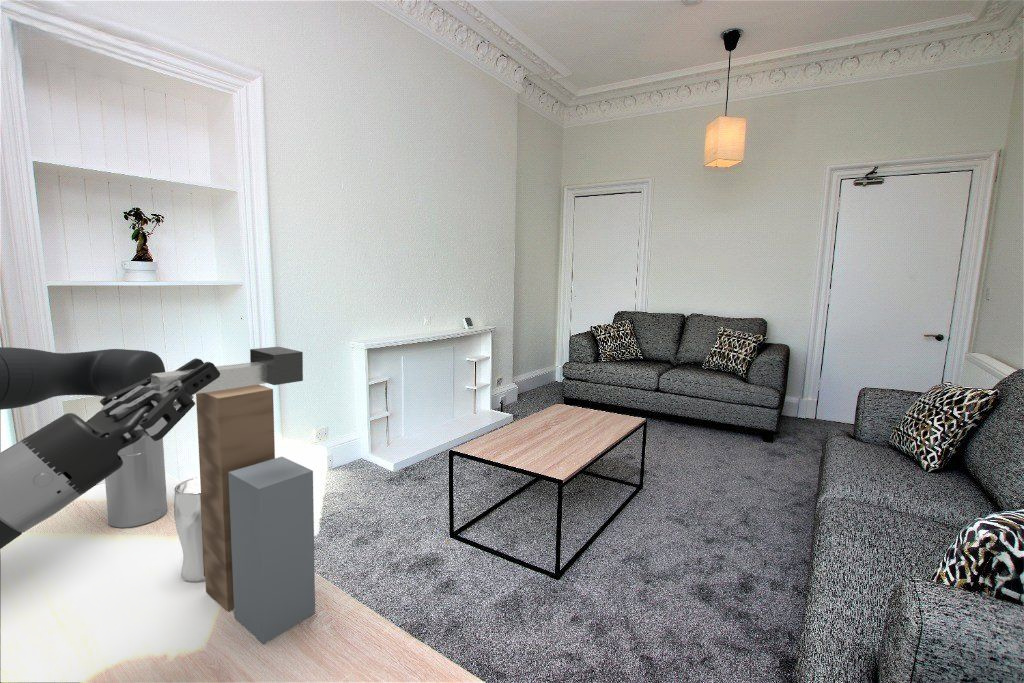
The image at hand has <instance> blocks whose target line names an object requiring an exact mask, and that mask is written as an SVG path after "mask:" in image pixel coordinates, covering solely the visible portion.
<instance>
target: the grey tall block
mask: <svg viewBox="0 0 1024 683" xmlns="http://www.w3.org/2000/svg"><path fill="white" fill-rule="evenodd" d="M228 474H229V498H230V522H231V546H232V570H233V594H234V609H233V613H234V614H233V615H234V619H235V620H236V621H237V622H238V623H239V624H240V625H242V626H243V627H244V628H245V629H246V630H247V631H248V632H249V633H250V634H251V635H253V637H255V638H256V639H257V640H258V641H259V642H260V643H261V644H263V645H265V644H267V643H269V642H270V641H272V640H273V639H275V638H277V637H278V636H280V635H282V634H283V633H285V632H286V631H288V630H290V629H291V628H293V627H295V626H296V625H298V624H300V623H302V622H303V621H305V620H306V619H309V618H310V617H311V616H313V615H315V614H316V591H315V590H316V589H315V588H316V586H315V585H316V583H315V582H316V581H315V580H316V577H315V572H316V570H315V525H314V524H315V521H314V520H315V519H314V518H315V517H314V514H315V512H314V470H312V469H310V468H308V467H305V466H304V465H302V464H299V463H297V462H294V461H292V460H291V459H288V458H286V457H284V456H278V457H275V459H271V460H268V461H265V462H261V463H258V464H255V465H251V466H248V467H244V468H241V469H238V470H234V471H231V472H228Z"/></svg>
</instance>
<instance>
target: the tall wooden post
mask: <svg viewBox="0 0 1024 683" xmlns="http://www.w3.org/2000/svg"><path fill="white" fill-rule="evenodd" d="M195 399H196V402H195V405H196V418H197V419H196V423H197V440H198V460H199V461H198V464H199V477H200V484H201V504H202V524H203V543H204V563H205V580H204V582H205V593H206V594H208V595H209V596H210V598H211V599H213V600H214V601H215V602H216V603H218V605H220V606H221V607H222V608H223V609H224V610H225V611H226V612H229V613H230V611H232V610H234V594H233V570H232V546H231V522H230V498H229V474H228V472H231V471H234V470H238V469H241V468H244V467H248V466H251V465H255V464H258V463H261V462H265V461H268V460H271V459H275V458H276V452H275V451H276V449H275V415H274V414H275V413H274V412H275V411H274V388H271V387H268V386H265V385H263V384H258V385H251V386H245V387H238V388H232V389H225V390H218V391H212V392H205V393H199V394H195Z"/></svg>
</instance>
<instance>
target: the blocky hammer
mask: <svg viewBox="0 0 1024 683" xmlns="http://www.w3.org/2000/svg"><path fill="white" fill-rule="evenodd" d="M249 350H250V352H249V357H250V358H249V359H250V362H246V363H242V362H241V363H235V364H227V365H225V364H224V365H218V366H216V365H215V367H216V368H217V369H218V371H219V372H220V376H219V378H217V379H216V380H214V381H213V382H211V383H210V384H208V385H207V386H205V387H204V388H202V389H201V390H199V391H198V392H196V393H195V394H194V395H196V394H199V393H205V392H212V391H218V390H225V389H232V388H238V387H245V386H251V385H258V384H259V385H263V384H269V385H272V386H279V385H285V384H291V383H298V382H303V381H304V369H303V367H304V362H303V361H304V360H303V359H304V357H303V355H304V353H303V351H300V350H296V349H291V348H287V347H283V346H282V347H281V346H271V347H270V346H269V347H260V348H259V347H257V348H251V349H249ZM192 370H194V369H190V370H182V371H175V370H173V371H165V372H163V373H154V374H151V387H152V390H156V391H160V390H162V389H163V388H165V387H167V386H168V385H170V384H172V383H173V382H175V381H178V380H179V379H180V378H182V377H183V376H185V375H187V374H188V373H189V372H191V371H192ZM165 397H166V396H165Z"/></svg>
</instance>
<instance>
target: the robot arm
mask: <svg viewBox="0 0 1024 683" xmlns="http://www.w3.org/2000/svg"><path fill="white" fill-rule="evenodd" d="M165 368H166V367H165V363H164V362H163V360H162V358H161V357H160V356H159V354H158V353H155V352H153V351H148V350H139V349H123V348H108V349H99V350H98V349H97V350H91V351H80V352H78V351H77V352H67V353H66V352H65V353H64V352H62V353H61V352H51V351H47V350H46V351H45V350H41V349H34V348H23V347H11V346H10V347H7V346H6V347H5V346H0V411H1V410H8V409H9V410H11V409H17V408H23V407H28V406H32V405H35V404H38V403H40V402H43V401H46V400H48V399H51V398H54V397H55V398H56V397H61V396H94V397H95V396H96V397H103V398H101V399H100V401H99V403H100V404H101V405H102V407H101V410H99V411H98V412H96V413H95V414H94V415H93V416H92V417H90V418H89V419H88V420H86V421H85V420H83V419H82V418H81V417H80V416H79V415H77V414H76V413H72V412H69V413H64V414H63V415H61V416H60V417H58V418H56V419H54V420H53V421H51V422H50V423H48V424H46V425H44V426H43V427H41V428H39V429H38V430H35V431H34V432H33V433H31V434H29V435H28V436H26V437H24V438H23V439H21V440H19V441H18V442H16V443H15V444H13V445H11V446H10V447H8V448H6V449H4V450H3V451H1V452H0V550H1V549H3V548H4V547H6V546H7V545H8V544H10V543H11V542H13V541H14V540H15V539H17V538H19V537H20V536H22V535H23V533H25V532H27V531H28V530H30V529H32V528H33V527H35V526H37V525H39V524H40V523H42V522H44V521H45V520H46V521H47V520H48V519H49V518H51V517H52V516H54V515H55V514H57V513H58V512H60V511H61V510H63V509H65V508H66V507H67V506H69V505H70V504H71V503H73V502H74V501H76V500H77V499H79V498H80V497H81V496H82V495H84V494H86V493H87V492H88V491H90V490H91V489H93V488H94V487H95V486H97V485H98V484H100V483H101V482H103V481H105V482H104V483H105V494H106V495H105V496H106V497H105V498H106V508H107V510H106V511H107V520H108V525H110V526H111V527H114V528H131V527H132V528H133V527H137V526H142V525H146V524H149V523H151V522H153V521H156V520H159V519H160V518H161V517H163V516H164V515H165V514H166V513H167V512H168V500H167V484H166V483H167V481H166V480H167V479H166V466H165V451H164V448H165V446H164V437H165V436H166V435H167V434H168V433H169V432H170V431H171V430H172V429H173V428H174V427H175V426H176V425H177V424H178V423H179V422H180V421H181V420H182V419H183V418H184V417H185V415H187V413H188V412H189V411H191V409H192V408H193V407H194V406H195V405H196V402H195V401H194V400H193V399H194V395H196V394H195V393H196V392H198V391H199V390H201V389H202V388H204V387H205V386H207V385H208V384H210V383H211V382H213V381H214V380H216V379H217V378H219V376H220V372H219V371H218V369H217V368H216V365H215V364H214V362H210V361H205V362H204V361H203V360H202V359H201V358H196V357H195V358H193V359H191V360H190V361H189V362H186V363H185V364H183V365H182V366H180V367H178V368H177V369H176V370H174V371H182V370H190V369H194V370H192V371H191V372H189V373H188V374H187V375H185V376H183V377H182V378H180V379H179V380H178V381H175V382H173V383H172V384H170V385H168V386H167V387H165V388H163V389H162V390H160V391H156V390H152V387H151V374H154V373H163V372H166V369H165ZM165 396H166V397H165Z"/></svg>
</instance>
